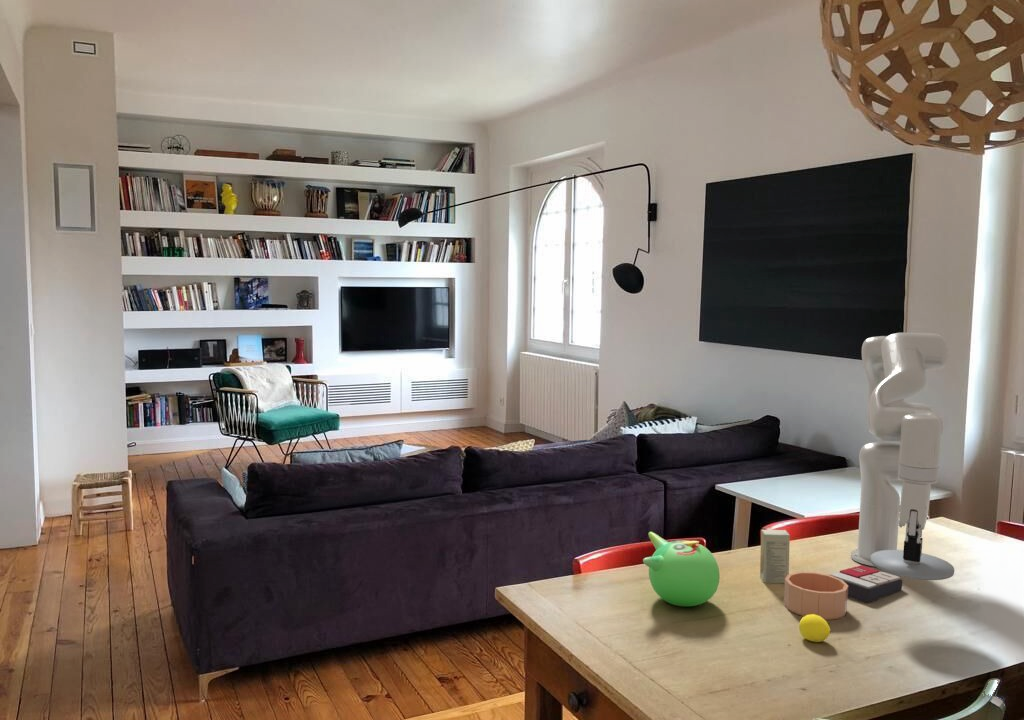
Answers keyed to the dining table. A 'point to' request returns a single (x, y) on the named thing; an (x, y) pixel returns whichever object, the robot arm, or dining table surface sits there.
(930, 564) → the lid
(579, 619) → the dining table surface
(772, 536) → the skincare box
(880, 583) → the calculator
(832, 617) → the bowl
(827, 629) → the lemon
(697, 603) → the toy bird
